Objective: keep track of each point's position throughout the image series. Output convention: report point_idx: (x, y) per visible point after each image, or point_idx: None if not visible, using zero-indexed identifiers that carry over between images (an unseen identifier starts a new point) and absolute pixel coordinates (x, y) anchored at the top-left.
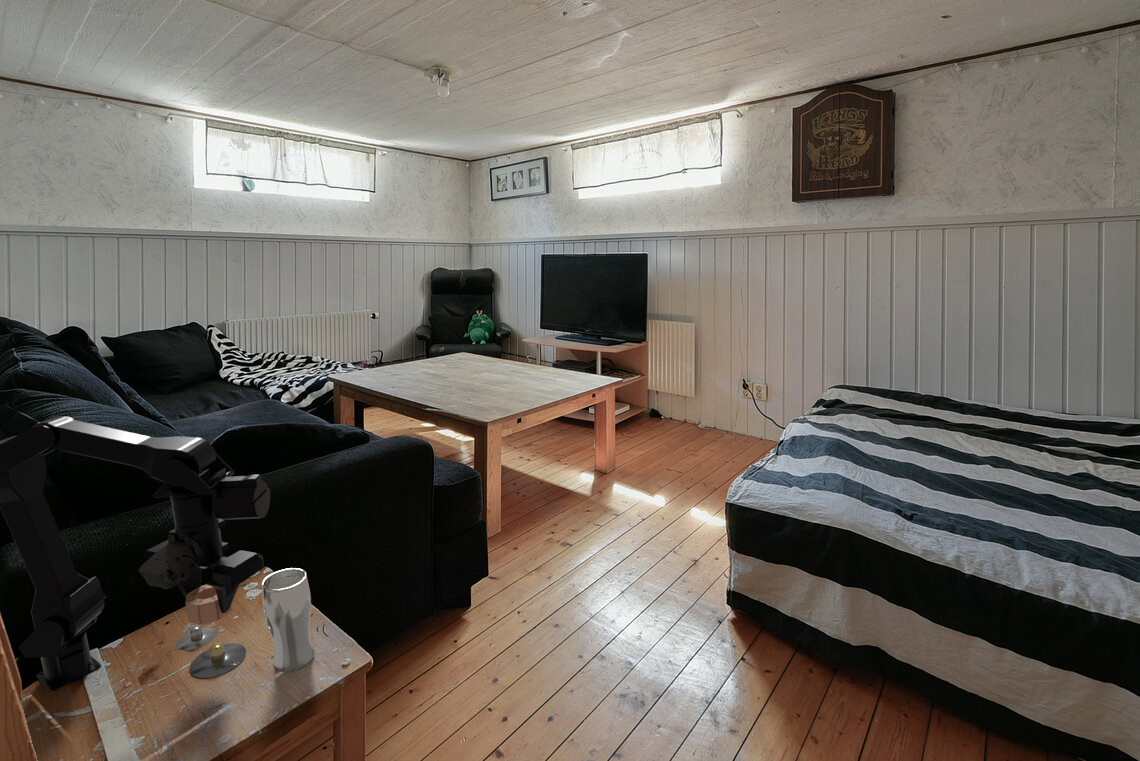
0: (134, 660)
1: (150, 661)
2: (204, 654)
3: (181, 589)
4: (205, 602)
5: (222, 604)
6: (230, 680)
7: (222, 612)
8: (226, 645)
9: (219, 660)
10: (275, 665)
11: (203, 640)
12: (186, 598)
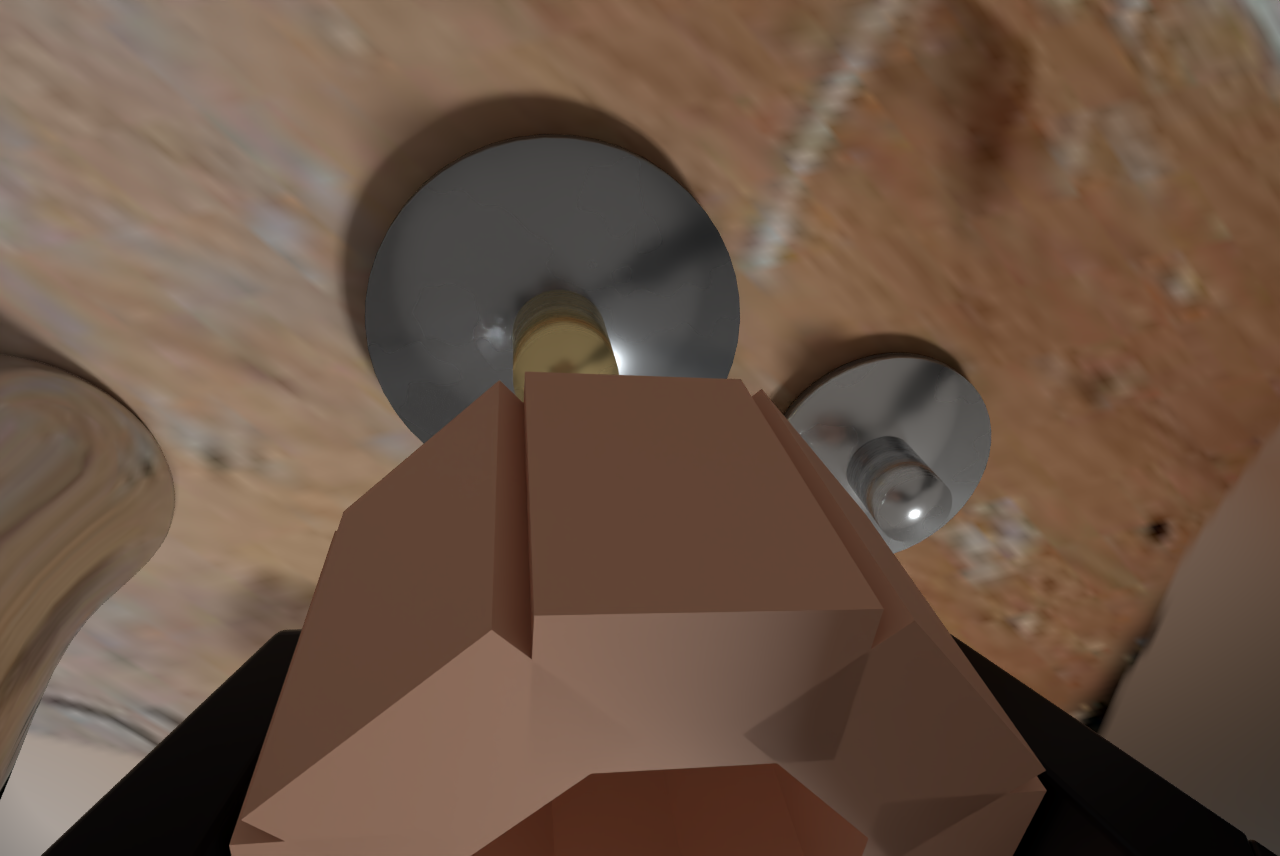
0: (1165, 206)
1: (1051, 223)
2: (704, 351)
3: (1231, 853)
4: (408, 731)
5: (138, 776)
6: (294, 181)
7: (289, 635)
8: None
9: (522, 316)
10: (37, 379)
11: (823, 461)
12: (975, 702)
